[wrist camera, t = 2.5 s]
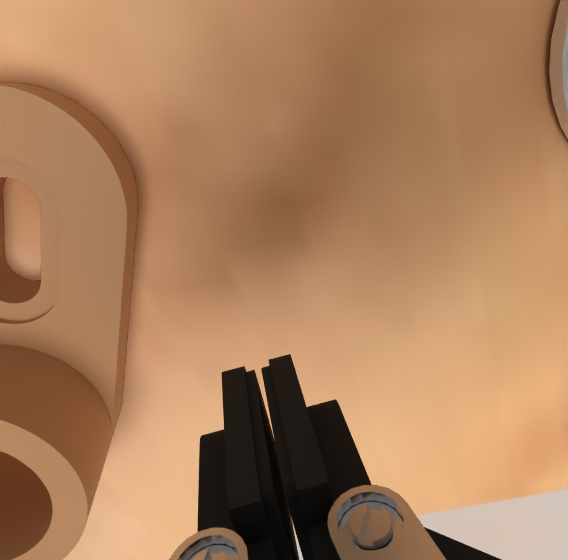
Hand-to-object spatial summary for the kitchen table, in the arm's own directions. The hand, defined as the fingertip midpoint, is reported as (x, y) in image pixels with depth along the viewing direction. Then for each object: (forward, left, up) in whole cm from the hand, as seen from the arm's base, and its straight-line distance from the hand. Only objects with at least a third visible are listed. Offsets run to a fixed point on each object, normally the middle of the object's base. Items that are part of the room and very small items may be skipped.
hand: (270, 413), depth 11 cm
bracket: (+10, 0, -11) cm, 15 cm away
